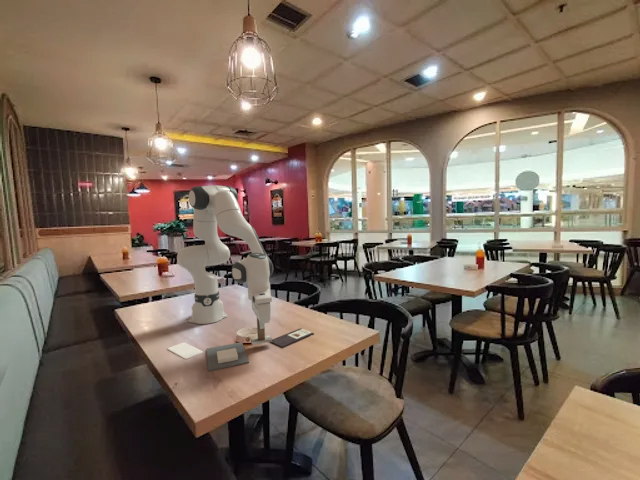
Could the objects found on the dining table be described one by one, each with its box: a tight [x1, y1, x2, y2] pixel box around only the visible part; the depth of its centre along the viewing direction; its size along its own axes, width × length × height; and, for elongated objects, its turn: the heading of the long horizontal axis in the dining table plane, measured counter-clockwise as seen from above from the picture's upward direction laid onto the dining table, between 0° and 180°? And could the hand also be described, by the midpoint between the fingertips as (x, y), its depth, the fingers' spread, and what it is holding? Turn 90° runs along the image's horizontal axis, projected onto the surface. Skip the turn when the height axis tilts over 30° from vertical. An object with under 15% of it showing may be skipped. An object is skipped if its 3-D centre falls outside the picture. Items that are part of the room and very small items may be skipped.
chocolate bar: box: [269, 327, 315, 349], centre depth 131 cm, size 9×1×18 cm
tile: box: [217, 348, 238, 364], centre depth 113 cm, size 2×7×7 cm
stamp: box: [250, 317, 273, 346], centre depth 123 cm, size 4×8×10 cm, turn 112°
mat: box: [206, 341, 250, 372], centre depth 116 cm, size 18×14×1 cm
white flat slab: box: [167, 342, 203, 360], centre depth 121 cm, size 7×1×15 cm
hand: (260, 326), depth 122 cm, fingers closed on stamp, 2 cm apart
